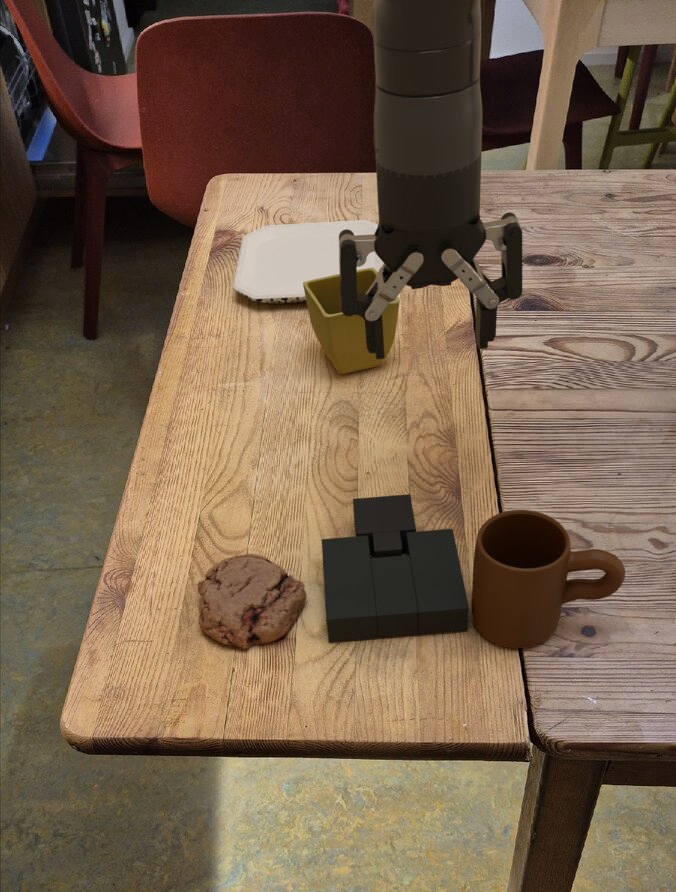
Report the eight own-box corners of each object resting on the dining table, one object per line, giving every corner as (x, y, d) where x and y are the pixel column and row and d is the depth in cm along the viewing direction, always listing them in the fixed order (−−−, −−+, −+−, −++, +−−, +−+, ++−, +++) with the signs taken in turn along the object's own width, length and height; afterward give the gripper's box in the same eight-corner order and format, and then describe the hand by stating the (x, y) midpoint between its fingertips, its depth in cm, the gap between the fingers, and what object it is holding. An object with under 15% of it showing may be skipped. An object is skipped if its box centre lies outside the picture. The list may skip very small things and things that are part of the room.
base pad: (452, 552, 86) (452, 528, 84) (467, 631, 80) (469, 608, 77) (324, 562, 87) (321, 538, 84) (328, 643, 80) (326, 619, 78)
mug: (615, 603, 81) (633, 522, 74) (607, 669, 76) (626, 589, 69) (479, 581, 84) (484, 501, 77) (462, 643, 79) (466, 564, 72)
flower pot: (376, 334, 114) (373, 265, 107) (402, 370, 108) (401, 299, 101) (308, 351, 112) (301, 281, 106) (331, 388, 106) (325, 317, 100)
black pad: (410, 517, 90) (410, 493, 88) (419, 571, 85) (419, 547, 83) (354, 522, 90) (352, 498, 88) (359, 576, 85) (357, 552, 83)
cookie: (262, 551, 88) (258, 528, 86) (327, 614, 82) (325, 590, 80) (171, 600, 84) (165, 577, 82) (233, 670, 78) (228, 647, 76)
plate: (389, 232, 132) (388, 217, 131) (392, 306, 118) (391, 290, 117) (246, 240, 134) (244, 225, 132) (232, 314, 119) (229, 298, 118)
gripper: (330, 181, 63) (348, 383, 75) (539, 158, 63) (524, 365, 75) (325, 138, 68) (343, 334, 80) (518, 117, 68) (507, 317, 80)
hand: (430, 349), depth 77 cm, fingers open, 8 cm apart
